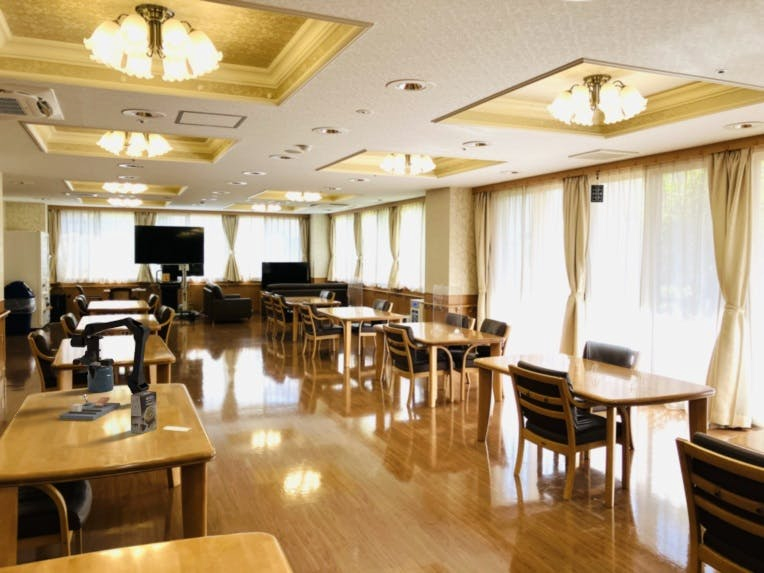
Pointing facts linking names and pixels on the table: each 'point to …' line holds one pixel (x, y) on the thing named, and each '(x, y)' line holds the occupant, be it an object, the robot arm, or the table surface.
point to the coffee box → (143, 412)
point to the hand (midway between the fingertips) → (93, 378)
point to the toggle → (85, 398)
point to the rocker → (101, 402)
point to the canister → (101, 380)
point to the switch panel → (90, 412)
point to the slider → (77, 407)
